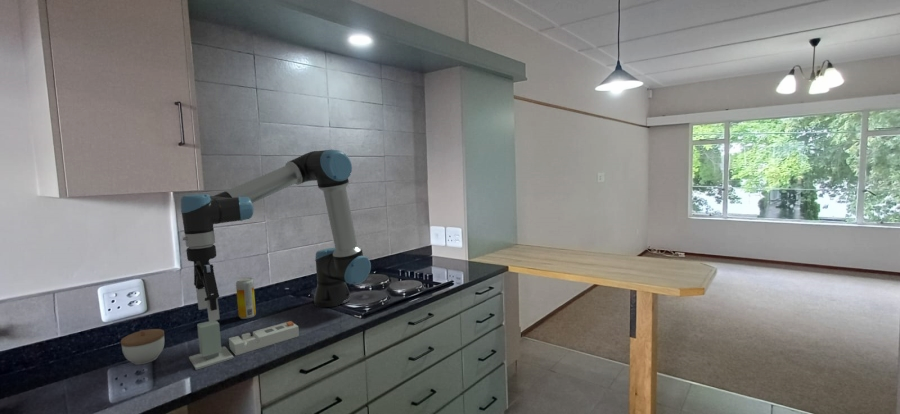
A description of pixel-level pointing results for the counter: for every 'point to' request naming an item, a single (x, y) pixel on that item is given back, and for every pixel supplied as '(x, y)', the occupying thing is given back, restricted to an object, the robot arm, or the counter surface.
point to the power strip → (263, 337)
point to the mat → (200, 361)
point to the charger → (209, 339)
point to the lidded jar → (143, 346)
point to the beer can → (245, 298)
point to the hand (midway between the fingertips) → (208, 314)
